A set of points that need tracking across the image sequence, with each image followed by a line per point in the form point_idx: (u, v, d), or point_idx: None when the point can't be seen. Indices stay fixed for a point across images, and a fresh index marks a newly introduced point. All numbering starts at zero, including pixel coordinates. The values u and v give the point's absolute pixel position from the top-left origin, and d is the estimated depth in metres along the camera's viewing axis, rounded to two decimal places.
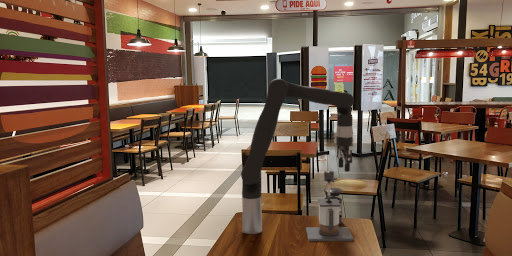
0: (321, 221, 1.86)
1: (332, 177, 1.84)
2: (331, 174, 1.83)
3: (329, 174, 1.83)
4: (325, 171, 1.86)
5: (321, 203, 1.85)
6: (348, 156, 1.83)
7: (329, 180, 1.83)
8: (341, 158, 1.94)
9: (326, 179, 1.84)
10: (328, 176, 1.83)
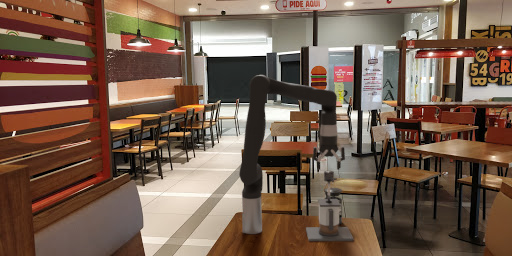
0: (321, 221, 1.86)
1: (332, 177, 1.84)
2: (331, 174, 1.83)
3: (329, 174, 1.83)
4: (325, 171, 1.86)
5: (321, 203, 1.85)
6: None
7: (329, 180, 1.83)
8: None
9: (326, 179, 1.84)
10: (328, 176, 1.83)
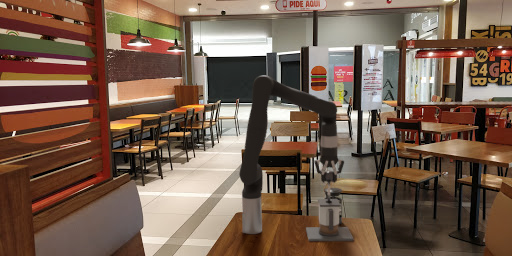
0: (321, 221, 1.86)
1: (332, 177, 1.84)
2: (331, 174, 1.83)
3: (329, 174, 1.83)
4: (325, 171, 1.86)
5: (321, 203, 1.85)
6: None
7: (329, 180, 1.83)
8: (323, 172, 1.85)
9: (326, 179, 1.84)
10: (328, 176, 1.83)
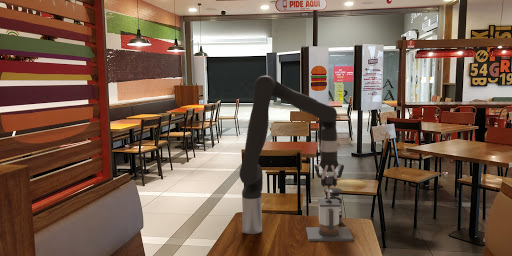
0: (321, 221, 1.86)
1: (332, 181, 1.84)
2: (331, 178, 1.83)
3: (329, 178, 1.83)
4: (325, 175, 1.86)
5: (321, 203, 1.85)
6: None
7: (329, 184, 1.84)
8: (323, 177, 1.86)
9: (326, 183, 1.84)
10: (328, 181, 1.83)
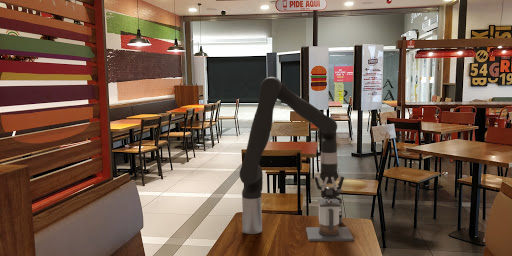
0: (321, 221, 1.86)
1: (332, 193, 1.85)
2: (331, 190, 1.84)
3: (329, 190, 1.84)
4: (325, 187, 1.87)
5: (321, 203, 1.85)
6: None
7: (329, 196, 1.84)
8: (323, 188, 1.86)
9: (326, 195, 1.85)
10: (328, 192, 1.84)
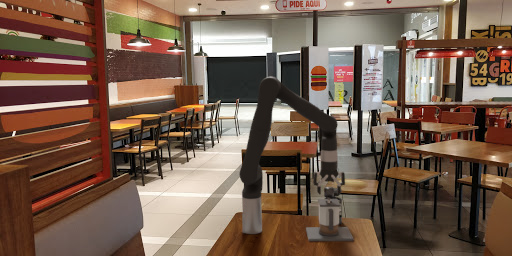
0: (321, 221, 1.86)
1: (332, 193, 1.85)
2: (331, 190, 1.84)
3: (329, 190, 1.84)
4: (325, 187, 1.87)
5: (321, 203, 1.85)
6: (344, 178, 1.85)
7: (329, 196, 1.84)
8: None
9: (326, 195, 1.85)
10: (328, 192, 1.84)
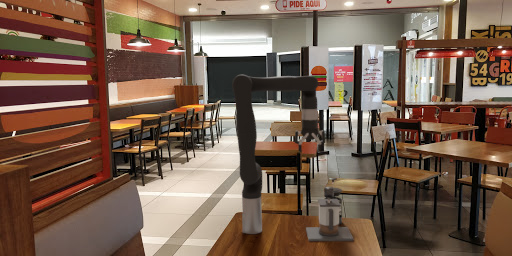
0: (321, 221, 1.86)
1: (332, 193, 1.85)
2: (331, 190, 1.84)
3: (329, 190, 1.84)
4: (325, 187, 1.87)
5: (321, 203, 1.85)
6: (324, 136, 1.91)
7: (329, 196, 1.84)
8: None
9: (326, 195, 1.85)
10: (328, 192, 1.84)
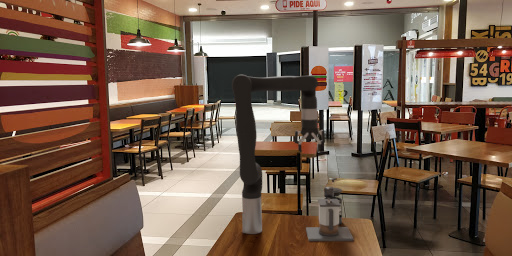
0: (321, 221, 1.86)
1: (332, 193, 1.85)
2: (331, 190, 1.84)
3: (329, 190, 1.84)
4: (325, 187, 1.87)
5: (321, 203, 1.85)
6: None
7: (329, 196, 1.84)
8: (300, 142, 1.92)
9: (326, 195, 1.85)
10: (328, 192, 1.84)
